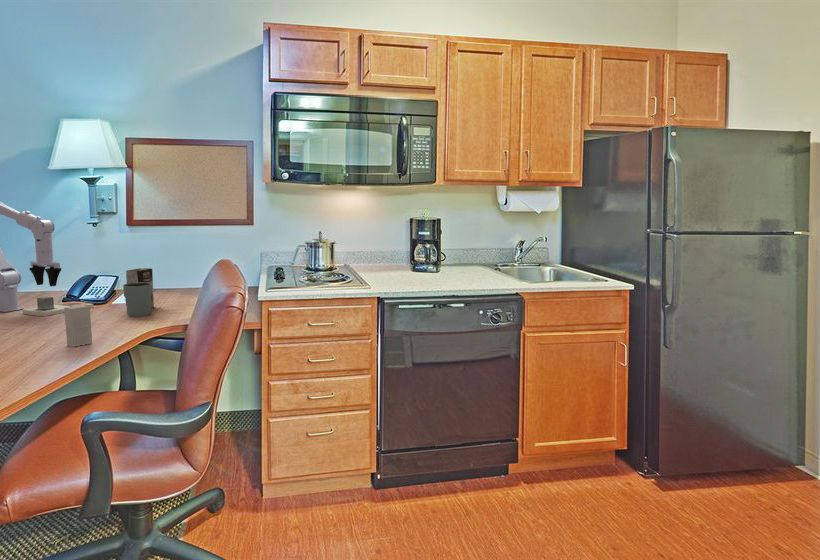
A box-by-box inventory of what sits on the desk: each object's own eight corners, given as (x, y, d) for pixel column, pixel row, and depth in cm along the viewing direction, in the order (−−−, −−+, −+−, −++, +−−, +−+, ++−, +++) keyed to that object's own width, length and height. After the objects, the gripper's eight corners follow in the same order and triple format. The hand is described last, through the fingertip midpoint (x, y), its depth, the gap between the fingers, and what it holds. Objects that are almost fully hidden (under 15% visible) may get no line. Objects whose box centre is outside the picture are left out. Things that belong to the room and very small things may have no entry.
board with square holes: (22, 313, 252) (22, 309, 252) (73, 305, 271) (73, 301, 271) (43, 316, 247) (43, 312, 246) (94, 307, 266) (93, 303, 266)
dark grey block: (37, 313, 253) (36, 297, 252) (47, 311, 257) (46, 296, 256) (44, 314, 252) (43, 298, 251) (54, 312, 255) (53, 297, 254)
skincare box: (85, 341, 206) (83, 304, 205) (92, 343, 204) (90, 306, 202) (66, 345, 201) (63, 307, 200) (73, 347, 199) (71, 308, 197)
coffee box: (141, 310, 260) (139, 270, 258) (127, 310, 262) (125, 270, 260) (154, 306, 269) (153, 268, 267) (140, 306, 271) (138, 267, 268)
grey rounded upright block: (158, 313, 255) (157, 283, 254) (140, 318, 246) (138, 286, 244) (137, 311, 259) (136, 281, 257) (118, 316, 249) (117, 285, 248)
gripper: (66, 250, 253) (68, 285, 255) (41, 249, 259) (43, 283, 261) (49, 252, 247) (51, 287, 249) (24, 250, 253) (26, 285, 255)
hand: (46, 285), depth 255 cm, fingers open, 7 cm apart
